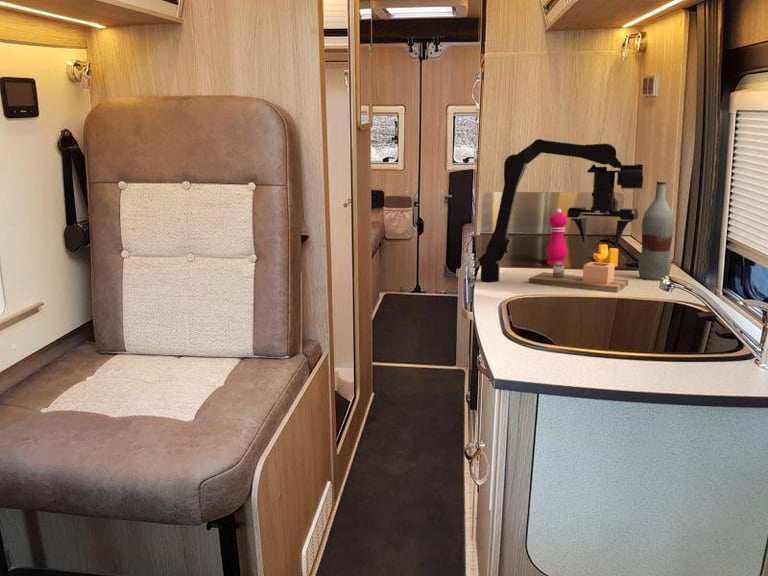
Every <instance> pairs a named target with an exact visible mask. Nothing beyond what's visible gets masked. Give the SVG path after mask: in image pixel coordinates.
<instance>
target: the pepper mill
mask: <svg viewBox="0 0 768 576" xmlns="http://www.w3.org/2000/svg"><path fill="white" fill-rule="evenodd" d="M555 212H556V213H553V214H552V215H550V217H549V224H550V232H551V238H550V241H549V243H548V246H547V248H546V251H545V252H546V253H545V254H546V257H547V258H548V260H547V261H546V262H547V265H548V266H551V267H553V266H554V265H555V262H562V263H563V266H564V267H565V265H566V260H565V259H566V257H568V248H567V246H566V243H565V236H564V235H565V234H564V233H565V232H566V225H567V224H568V217H567V215H565V214H564V213H562V209H561V208H557V209H556V211H555Z"/></svg>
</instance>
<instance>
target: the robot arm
mask: <svg viewBox="0 0 768 576" xmlns="http://www.w3.org/2000/svg"><path fill="white" fill-rule="evenodd" d="M541 154H550V155H555V156H556V155H558V156H565V157H573V158H581V159H584V160H586V161H590V162H594V163H593V164H592V165H591V167H590V168H589V169H587V172H586V173H588V174H589V173H592V174H593V184H592V192H591V197H592V201H591V202H592V203H591V208H590V209H587V207H586V206H572V207H569V208H568V209H567V213H566V217H567V218H570V219H571V221H573V222H574V223H575V224H576V226H577V229H578V231H579V234H580V236H581V239H582V242H583V243H586V241H587V219H588V217H614V218H615V217H616V218H618V217H619V219H618V220H617V221H616V222H617V224H616V230H615V245H618V244H619V241H620V240H621V237H622V235H623V233H624V230H625V229H626V227H627V225H628V223H632V222H633V221H634V220H635V221H636V220H637V219H638V218H639V210H638V209H637V208H626V207H625V208H620V209H619V210H618V206H619V201H618V200H617V199H616V196H615V195H616V194H615V193H616V192H615V182H616V185H617V186H620V189H621V190H623V189H624V190H629V189H630V190H638V189H639V190H640V189H643V183H644V176H643V173H644V172H643V168H644V165H643V164H641V163H639V164H638V163H637V164H626V165H625V164H622V162H621V161H620V160H619V159H618V158H617V150H616V148H615V147H614V145H613V144H610V143H594V144H578V143H577V144H576V143H569V142H560V141H552V140H545V139H542V138H537V139H534V141H533V142H532V143H531V144H530V145H528V146H527V147H525V148H524V149H522V150H521V151H519V152H518V153H517V154H510V155H509V156H507V157H506V159H505V161H504V164H503V180H504V185H503V190H502V194H501V198H500V204H499V209H498V213H497V216H496V217H497V219H496V223H495V227H494V230H493V232H492V235H491V236H490V239H489V241H488V244H487V246H486V249H485V252H484V253H483V254H482V255H481V256H480V257H479V258H478V262H479V265H480V282H484V283H497V282H499V281H500V262H501V260H502V259H503V258H505V257H506V255H507V254H508V253H509V252H510V251H511V243H512V240H513V237H509V228H510V222H511V218H512V214H513V210H514V205H515V200H516V195H517V191H518V188H519V184H520V182H521V180H522V179H523V176H524V174H525V171H526V169H527V165H528V164H529V163H531V162H532V161H533V160H534V159H536V158H538V156H540V155H541ZM595 163H597V164H600V165H609V166H611V167H612V168H614V169H619V170H608V169H607V168H608V167H607V166H596V165H595ZM616 173H617V176H616ZM616 177H617V181H615V180H616V179H615V178H616ZM585 216H586V217H585ZM587 216H588V217H587Z"/></svg>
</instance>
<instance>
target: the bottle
mask: <svg viewBox="0 0 768 576" xmlns="http://www.w3.org/2000/svg"><path fill="white" fill-rule="evenodd" d="M666 185H667V181H666V180H657V181H656V187H655V196H654V198H655V199H654V200H653V201H652V203H650V204H649V206H648V208H647V209H646V211H644V214H643V217H642V221H641V252H640V256H639V260H638V274H639V275H638V276H639V278H640V279H642V280H646V281H662V280H661V278H663V277H665V276H670V273H671V269H672V258H671V256H672V255H671V247H672V242H673V241H672V240H673V236H674V235H673V234H674V230H675V226H676V225H675V215H674V212H673V210H672V209H671V207H670V205H669V204H668V202H667V200H666V189H667V188H666Z"/></svg>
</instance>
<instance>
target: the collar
mask: <svg viewBox="0 0 768 576" xmlns="http://www.w3.org/2000/svg"><path fill="white" fill-rule="evenodd" d="M597 265H599V266H597ZM582 276H583V282H588V283H598V284H609V283H610V282H612V281H614V279H615V264H611V263H599V262H597V261H590V262H587V263H585V264H583V270H582Z"/></svg>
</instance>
